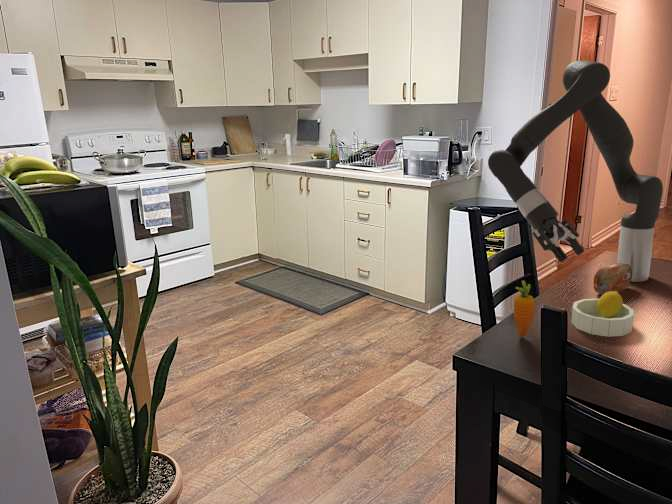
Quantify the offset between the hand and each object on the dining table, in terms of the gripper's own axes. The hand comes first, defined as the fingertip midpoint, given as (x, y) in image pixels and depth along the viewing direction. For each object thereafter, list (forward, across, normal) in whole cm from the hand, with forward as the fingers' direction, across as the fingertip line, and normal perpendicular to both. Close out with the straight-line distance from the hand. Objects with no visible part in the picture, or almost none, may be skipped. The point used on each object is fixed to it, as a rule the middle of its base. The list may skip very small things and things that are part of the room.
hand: (573, 256), depth 135 cm
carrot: (+12, -21, +12) cm, 27 cm away
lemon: (+17, 0, +5) cm, 18 cm away
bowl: (+18, 0, +6) cm, 19 cm away
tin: (+12, +25, +12) cm, 31 cm away
